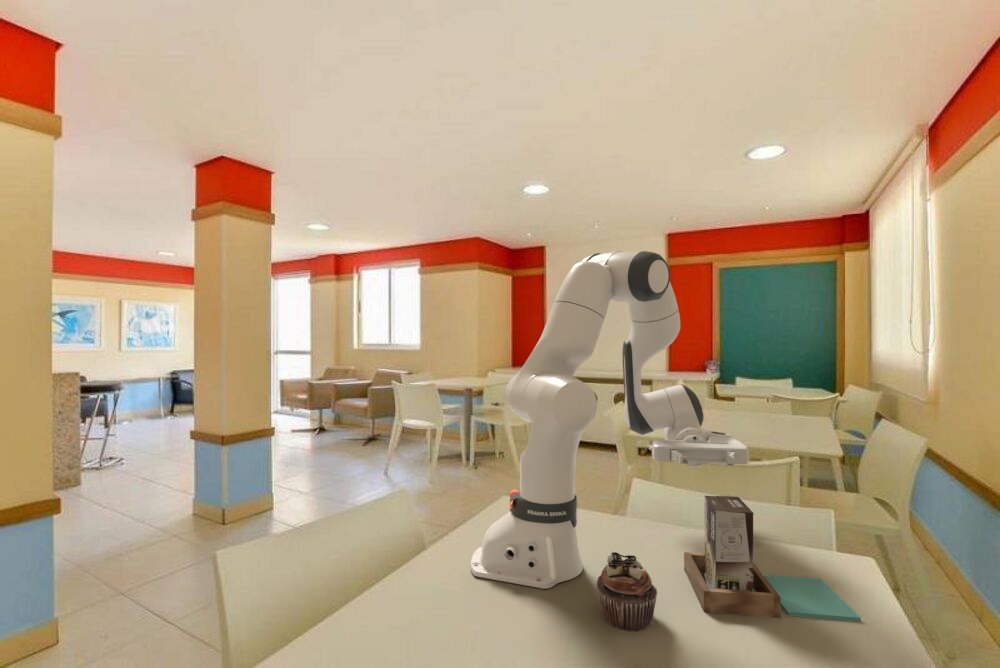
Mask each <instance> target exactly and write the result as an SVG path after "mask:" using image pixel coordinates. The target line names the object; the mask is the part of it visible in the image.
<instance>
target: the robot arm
mask: <svg viewBox="0 0 1000 668" xmlns="http://www.w3.org/2000/svg"><path fill="white" fill-rule="evenodd" d="M670 271H671V270H670V267H669V265H668V262H666V260H665V259H664V257H662V255H661V254H659V253H658V252H657V253H656V252H652V251H647V250H643V251H623V250H617V251H609V252H603V253H593V254H591V255H588V256H586V257H585V258H584V259H582V260H581V261H579V262H577V263H576V264H574V265H573V266H572V267H571V268H570V269H569V271H568V272H567V275H566V276H565V279H564V280H563V282H562V283H561V285H560V288H559V290H558V292H557V294H556V297H555V299H554V302H553V304H552V307H551V309H550V312H549V315H548V317H547V321H546V323H545V325H544V328H543V331H542V333H541V336H540V338H539V340H538V341H537V343H536V345H535V346H534V348H533V350H532V351H531V353H530V355H529V356H528V358H527V359H526V360H525V363H524V364H523V365H522V366H521V369H519V371H518V373H516V374H515V375H514V376H512V377H511V379H510V380H509V381H508V383H507V385H506V388H505V391H504V396H505V402H506V405H507V406H508V408H509V409H510V410H511V412H512V413H514V415H516V416H517V417H518V418H519V419H521V420H523V421H526V422H529V423H530V434H529V439H528V442H527V445H526V448H525V449H524V450H523V451H522V453H521V454H520V458H519V490H518V489H512V490H511V491H510V494H509V512H507V513H505V514H504V515H503V516H502V517H501V518H499V519H498V520H496V521H495V522H493V523H492V524H491V525H490V526H489V528H488V529H487V530H486V532H485V535H484V537H483V541H482V545H479V547H478V548H476V549H475V551H474V552H473V554H472V556H471V558H470V559H471V560H470V571H471V573H472V575H474V576H475V577H478V578H482V579H488V580H494V581H500V582H505V583H511V584H517V585H520V586H521V585H522V586H526V587H527V586H528V587H533V588H538V589H543V590H544V589H550V588H553V587H554V586H555V585H557V584H559V583H563V582H565V581H569V580H572V579H574V578H577V577H578V576H579V575H581V573H583V570H584V565H583V562H582V558H581V555H580V550H579V545H578V538H577V537H578V534H577V525H578V524H577V523H578V502H577V501H578V498H577V495H576V493H575V492H576V491H575V488H576V487H575V486H576V480H575V478H576V458H577V457H576V456H577V452H578V448H579V445H580V441H581V438H582V435H583V433H584V431H585V430H586V429H587V428H588V427H589V426H590V425H591V424H592V422H593V421H594V419H595V417H596V414H597V408H598V403H597V396H596V395H595V392H594V390H593V389H592V387H590V386H589V385H588V384H587V383H585V382H583V381H582V380H580V379H578V378H576V377H574V376H575V373H576V372H577V370H578V369H579V368H580V367H581V366H582V364H584V363H585V362H586V361H588V360H589V359H590V357H592V355H593V353H594V350H595V347H596V344H597V342H598V339H599V337H600V333H601V331H602V329H603V325H604V321H605V319H606V315H607V313H608V308H609V306H610V301H615V302H624V303H625V302H627V305H628V313H629V316H630V319H631V328H630V332H629V335H628V337H627V338H626V339H625V340H624V341H623V345H622V372H623V373H622V375H623V376H622V377H623V394H624V395H623V398H624V399H623V400H624V404H623V405H624V406H623V416H624V417H623V418H624V420H625V423H626V425H627V426H628V427H627V428H628V430H631V431H632V432H634V433H636V434H639V435H641V436H643V435H647V434H650V433H653V432H655V431H658V430H662V429H664V431H663V432H664V439H654V440H653V441H652V443H649V444H648V445H647V448H648V450H649V451H652V459H653V460H654V461H655V462H660V463H661V462H662V463H663V462H664V463H679V464H680V465H682V464H684V465H686V466H690V467H698V466H702V465H707V464H719V465H721V464H724V465H725V466H735V465H748V464H749V462H750V450H749V447H748V446H747V445H746V444H744V443H743V442H741V441H740V440H738V439H735V438H733V437H732V435H731V434H730V433H726V432H719V431H711V430H707V429H704V428H702V425H703V422H704V411H703V408H702V404H701V402H700V400H699V398H698V396H697V394H696V393H695V392H694V390H692V389H691V388H689V387H688V386H686V385H685V384H677V385H672V386H668V387H664V388H661V389H658V390H654V391H650V392H647V393H642V377H641V375H642V369H643V367H644V365H645V364H647V362H648V361H650V359H652V358H653V357H655V356H656V355H657V354H659V353H660V352H662V351H663V350H665V349H666V348H668V347H669V346H670V345H672V343H674V341H675V340H676V339H677V338H678V335H679V333H680V331H681V316H680V312H679V306H678V302H677V298H676V295H675V292H674V288H673V286H672V283H671V281H670V280H671V274H670V273H671V272H670Z"/></svg>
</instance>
